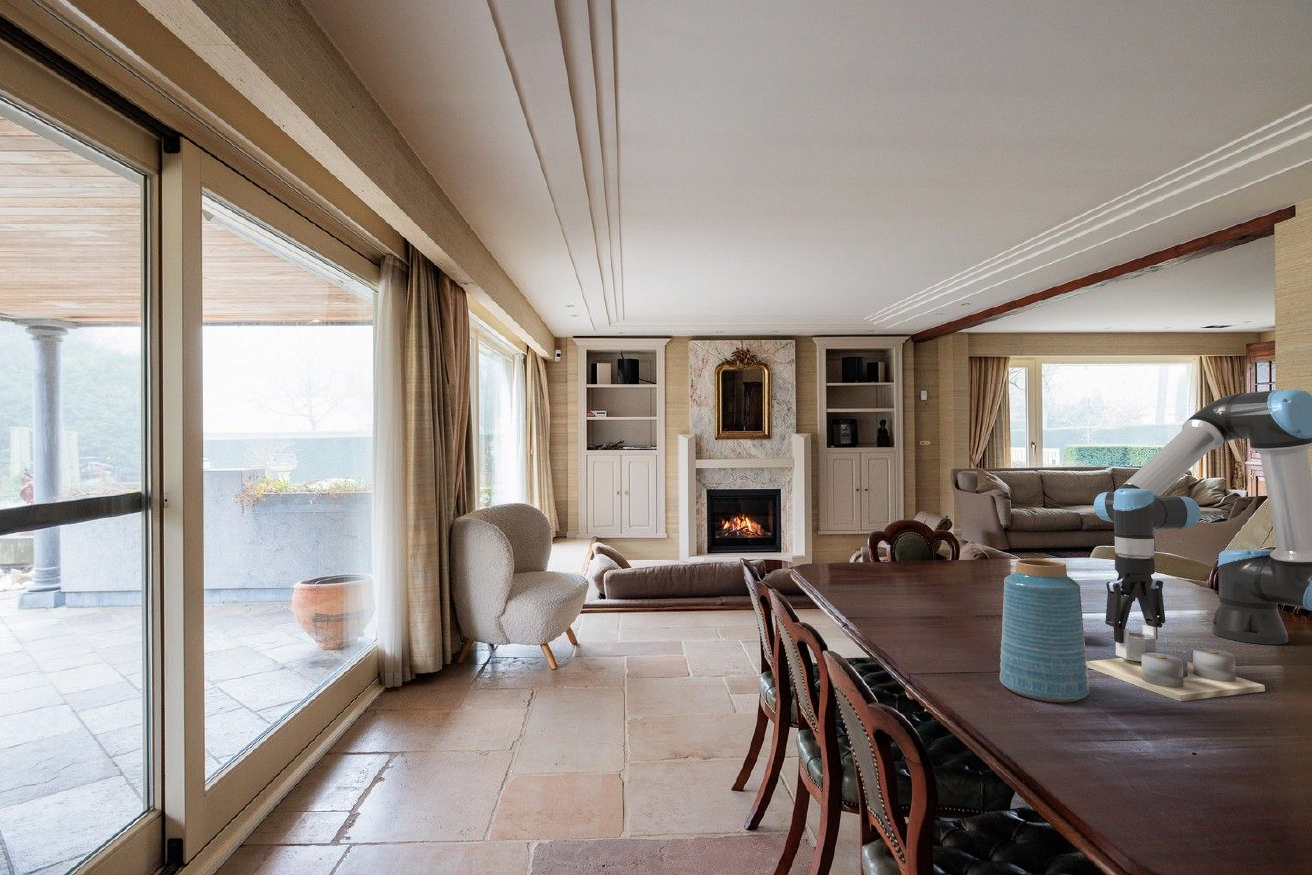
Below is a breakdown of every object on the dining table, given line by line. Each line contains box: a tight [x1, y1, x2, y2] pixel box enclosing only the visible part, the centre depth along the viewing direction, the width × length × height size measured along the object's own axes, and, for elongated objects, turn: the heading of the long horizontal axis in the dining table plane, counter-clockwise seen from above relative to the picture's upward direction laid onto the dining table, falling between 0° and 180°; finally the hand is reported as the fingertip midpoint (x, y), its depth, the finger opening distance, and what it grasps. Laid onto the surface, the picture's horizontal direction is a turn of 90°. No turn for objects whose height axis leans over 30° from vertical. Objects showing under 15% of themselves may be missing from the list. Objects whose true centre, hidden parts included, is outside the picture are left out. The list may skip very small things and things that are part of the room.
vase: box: [999, 558, 1090, 703], centre depth 141 cm, size 16×16×27 cm
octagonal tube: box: [1129, 630, 1156, 661], centre depth 155 cm, size 7×7×5 cm
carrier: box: [1087, 647, 1266, 702], centre depth 147 cm, size 22×22×6 cm
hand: (1136, 655), depth 155 cm, fingers closed on octagonal tube, 7 cm apart
